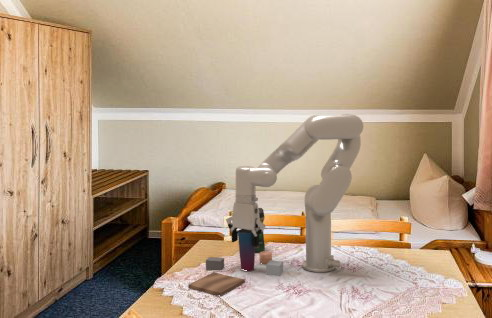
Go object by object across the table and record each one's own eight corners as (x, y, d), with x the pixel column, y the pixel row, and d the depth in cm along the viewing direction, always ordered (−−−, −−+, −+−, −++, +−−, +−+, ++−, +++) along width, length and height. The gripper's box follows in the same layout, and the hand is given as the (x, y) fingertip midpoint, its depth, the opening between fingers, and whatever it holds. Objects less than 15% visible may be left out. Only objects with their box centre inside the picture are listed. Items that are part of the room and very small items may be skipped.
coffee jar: (243, 253, 199) (242, 210, 196) (242, 248, 206) (241, 206, 204) (266, 252, 199) (265, 209, 197) (264, 247, 207) (263, 205, 205)
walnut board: (244, 282, 166) (244, 279, 165) (220, 296, 154) (220, 292, 154) (213, 275, 174) (213, 272, 173) (188, 287, 162) (188, 284, 162)
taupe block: (224, 268, 182) (224, 258, 181) (220, 271, 178) (220, 261, 178) (209, 266, 183) (209, 256, 183) (206, 270, 180) (205, 260, 179)
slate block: (283, 271, 176) (283, 261, 176) (279, 276, 172) (279, 265, 171) (270, 270, 178) (270, 260, 178) (266, 274, 173) (266, 264, 173)
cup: (254, 272, 175) (253, 233, 174) (236, 271, 177) (235, 232, 175) (257, 266, 182) (257, 228, 180) (240, 265, 183) (239, 228, 182)
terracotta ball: (274, 262, 187) (274, 252, 187) (267, 265, 183) (267, 255, 183) (263, 260, 190) (263, 250, 189) (257, 263, 186) (257, 253, 185)
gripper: (270, 200, 175) (269, 245, 176) (232, 195, 184) (232, 237, 186) (259, 203, 168) (258, 250, 170) (221, 198, 178) (220, 242, 180)
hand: (245, 243), depth 178 cm, fingers open, 9 cm apart
